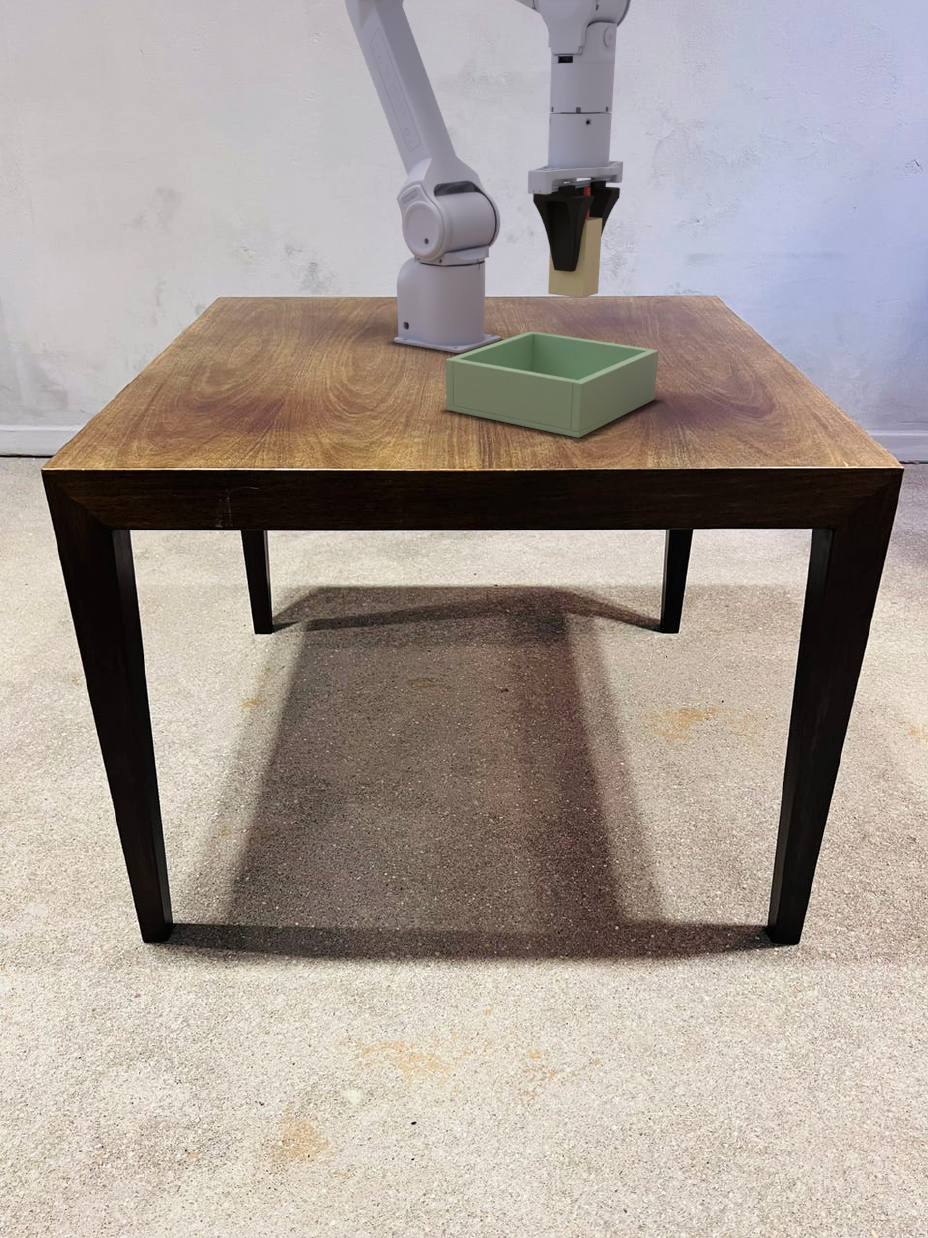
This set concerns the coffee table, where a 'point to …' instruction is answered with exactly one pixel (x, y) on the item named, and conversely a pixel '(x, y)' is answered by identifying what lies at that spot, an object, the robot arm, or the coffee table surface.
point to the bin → (551, 382)
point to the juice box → (581, 264)
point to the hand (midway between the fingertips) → (573, 268)
